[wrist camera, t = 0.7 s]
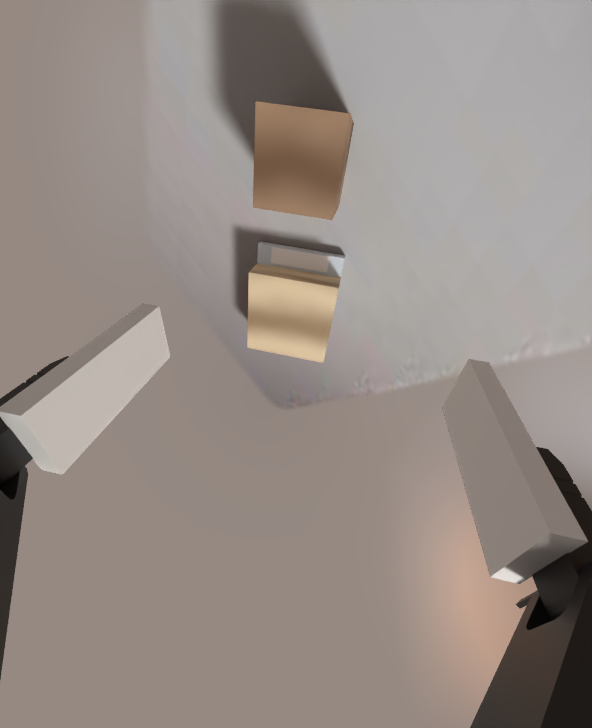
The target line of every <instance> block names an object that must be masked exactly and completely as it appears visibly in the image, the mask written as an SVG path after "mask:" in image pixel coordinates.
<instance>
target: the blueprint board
mask: <svg viewBox="0 0 592 728" xmlns="http://www.w3.org/2000/svg"><path fill="white" fill-rule="evenodd" d="M344 259H345V255H339V254H333V253H327V252H321V251H315V250H309V249H303V248H297V247H291V246H286V245H280V244H274V243H268V242H262V241H260V242H259V243H258V259H257V263H260V264H266V265H271V266H277V267H283V268H288V269H294V270H300V271H306V272H311V273H317V274H323V275H328V276H334V277H340V278H341V273H342V269H343V264H344Z"/></svg>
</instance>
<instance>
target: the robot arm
mask: <svg viewBox="0 0 592 728" xmlns="http://www.w3.org/2000/svg"><path fill="white" fill-rule="evenodd" d="M169 357H170V353H169V349H168V344H167V339H166V335H165V330H164V326H163V321H162V317H161V312H160V308H159V306H155V305H149V304H142V305H140V306H139V307H137V308H136V309H135V310H133V311H132V312H131V313H129V314H128V315H126V316H125V317H124V318H122V319H121V320H119V321H118V322H117V323H115V324H114V325H113V326H111V327H110V328H108V329H107V330H106V331H104V332H103V333H101V334H100V335H99V336H97V337H96V338H95V339H93V340H92V341H90V342H89V343H88V344H86V345H85V346H84V347H82V348H81V349H79V350H78V351H77V352H75V353H74V354H73V355H71V356H70V357H68V356H67V357H65V358H62V359H60V360H58V361H55V362H53V363H51V364H49V365H48V366H46V367H45V368H44V369H42V370H41V371H39V372H38V373H37V375H34V376H32V377H31V378H29V379H28V380H27V381H26V383H22V384H21V385H19V386H18V387H17V388H15V389H14V390H12V391H11V392H9V393H8V394H6V395H5V396H4V397H2V398H1V399H0V678H1V670H2V663H3V655H4V648H5V641H6V633H7V626H8V618H9V611H10V603H11V596H12V589H13V581H14V573H15V566H16V559H17V552H18V544H19V537H20V529H21V522H22V515H23V507H24V500H25V493H26V484H27V478H28V472H27V468H26V467H25V465H26V464H27V463H28V462H29V461H31V459H33V460H34V461H35V462H36V464H37V465H38V466H39V468H40V469H42V470H45V471H49V472H54V473H57V474H62V475H63V474H64V472H65V471H66V470H67V469H68V468H69V467H70V466H71V465H72V464H73V463H74V461H75V460H76V459H77V458H78V457H79V456H80V455H81V454H82V453H83V451H84V450H85V449H86V448H87V447H88V446H89V445H90V444H91V443H92V442H93V440H95V438H96V437H97V436H98V435H99V434H100V433H101V432H102V431H103V430H104V429H105V427H106V426H107V425H108V424H109V423H110V422H111V421H112V420H113V419H114V417H116V415H117V414H118V413H119V412H120V411H121V410H122V409H123V408H124V407H125V405H127V403H128V402H129V401H130V400H131V399H132V398H133V397H134V396H135V395H136V394H137V392H138V391H139V390H140V389H141V388H142V387H143V386H144V385H145V384H146V383H147V381H148V380H149V379H150V378H151V377H152V376H153V375H154V374H155V373H156V372H157V370H159V368H160V367H161V366H162V365H163V364H164V363H165V362H166V361H167V360H168V358H169ZM442 409H443V413H444V416H445V420H446V423H447V427H448V430H449V434H450V437H451V441H452V444H453V448H454V451H455V454H456V458H457V462H458V465H459V469H460V472H461V476H462V479H463V483H464V486H465V490H466V493H467V497H468V500H469V504H470V507H471V511H472V514H473V518H474V521H475V525H476V529H477V532H478V536H479V539H480V542H481V546H482V549H483V553H484V557H485V560H486V564H487V567H488V571H489V574H490V577H492V578H497V579H501V580H505V581H509V582H514V583H517V584H520V583H522V582H523V581H525V580H527V579H528V578H530V577H532V576H533V579H534V581H535V584H536V587H537V589H538V590H537V591H536V592H534V593H532V594H530V595H529V596H527V597H525V598H523V599H521V600H520V601H519V602H518V603H517V604H516V605H517V606H518V607H519V608H522V607H524V606H526V605H527V607H526V609H525V611H524V613H523V615H522V617H521V619H520V622H519V624H518V626H517V628H516V630H515V632H514V634H513V637H512V639H511V641H510V643H509V646H508V647H507V649H506V652H505V654H504V656H503V658H502V660H501V662H500V665H499V667H498V669H497V671H496V673H495V676H494V677H493V680H492V682H491V684H490V686H489V688H488V691H487V693H486V695H485V697H484V699H483V702H482V703H481V705H480V708H479V710H478V712H477V714H476V716H475V718H474V721H473V723H472V725H471V727H470V728H592V511H591V509H590V508H589V506H588V504H587V503H586V501H585V499H584V498H582V497H581V493H580V491H579V490H578V488H577V486H576V485H575V484H573V480H572V478H571V476H570V475H569V473H568V471H567V470H566V468H565V467H564V465H563V464H562V463H561V462H560V461H559V460H558V459H557V458H556V457H555V456H554V455H553V454H552V453H551V452H550V451H549V450H548V449H544V448H539V447H536V446H535V444H534V443H533V441H532V439H531V437H530V435H529V434H528V432H527V430H526V428H525V427H524V425H523V423H522V421H521V419H520V417H519V416H518V414H517V412H516V410H515V409H514V407H513V405H512V403H511V401H510V399H509V398H508V396H507V394H506V392H505V390H504V389H503V387H502V385H501V383H500V381H499V380H498V378H497V376H496V374H495V373H494V371H493V369H492V367H491V365H490V363H489V362H483V361H477V360H471V359H469V360H468V362H467V363H466V365H465V367H464V369H463V371H462V372H461V374H460V376H459V378H458V380H457V382H456V383H455V385H454V387H453V389H452V391H451V393H450V394H449V396H448V398H447V400H446V402H445V403H444V405H443V407H442Z"/></svg>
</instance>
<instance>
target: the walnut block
mask: <svg viewBox="0 0 592 728" xmlns="http://www.w3.org/2000/svg"><path fill="white" fill-rule="evenodd" d="M353 125H354V123H353V120H352V117H351V114H350V113H343V112H335V111H327V110H320V109H312V108H304V107H297V106H289V105H281V104H273V103H266V102H258V101H255V143H254V187H253V207H254V208H260V209H266V210H273V211H279V212H285V213H291V214H298V215H304V216H310V217H317V218H323V219H329V220H332V219H333V217H334V215H335V213H336V211H337V209H338V206H339V204H340V198H341V193H342V187H343V181H344V176H345V170H346V164H347V159H348V153H349V147H350V142H351V136H352V131H353Z"/></svg>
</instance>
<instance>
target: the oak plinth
mask: <svg viewBox="0 0 592 728" xmlns="http://www.w3.org/2000/svg"><path fill="white" fill-rule="evenodd" d="M339 284H340V277H334V276H328V275H323V274H317V273H311V272H306V271H300V270H294V269H288V268H283V267H277V266H271V265H266V264H260V263H257V264H256V265H255V266H254V267H253V268H252V269H251V270H250V271H249V283H248V347H247V348H252V349H257V350H262V351H267V352H272V353H277V354H282V355H287V356H292V357H297V358H302V359H307V360H312V361H317V362H322V363H323V362H324V357H325V352H326V347H327V342H328V338H329V333H330V328H331V323H332V318H333V313H334V309H335V304H336V299H337V294H338V289H339Z"/></svg>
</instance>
